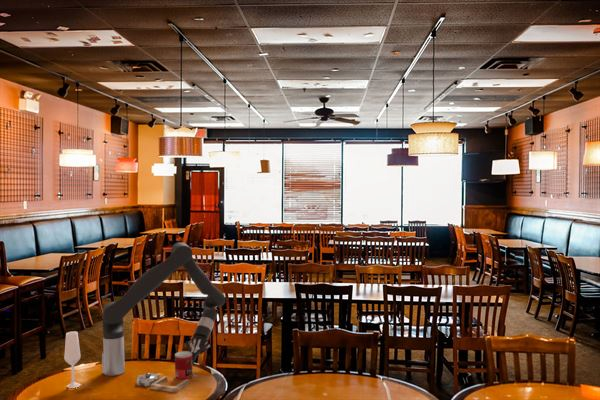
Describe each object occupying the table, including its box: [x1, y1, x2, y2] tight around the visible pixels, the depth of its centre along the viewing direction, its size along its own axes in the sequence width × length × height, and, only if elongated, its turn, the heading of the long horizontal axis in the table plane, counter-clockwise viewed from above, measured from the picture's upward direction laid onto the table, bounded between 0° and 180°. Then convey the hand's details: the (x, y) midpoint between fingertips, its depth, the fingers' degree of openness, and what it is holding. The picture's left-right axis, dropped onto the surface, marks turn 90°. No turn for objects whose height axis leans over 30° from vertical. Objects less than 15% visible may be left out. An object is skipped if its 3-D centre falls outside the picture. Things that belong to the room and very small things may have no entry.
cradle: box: [149, 375, 190, 393], centre depth 238 cm, size 13×10×2 cm
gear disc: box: [136, 372, 160, 388], centre depth 243 cm, size 10×10×4 cm
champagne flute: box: [63, 330, 82, 389], centre depth 238 cm, size 7×7×24 cm
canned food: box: [174, 350, 193, 381], centre depth 248 cm, size 8×8×11 cm
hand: (191, 361), depth 255 cm, fingers closed
